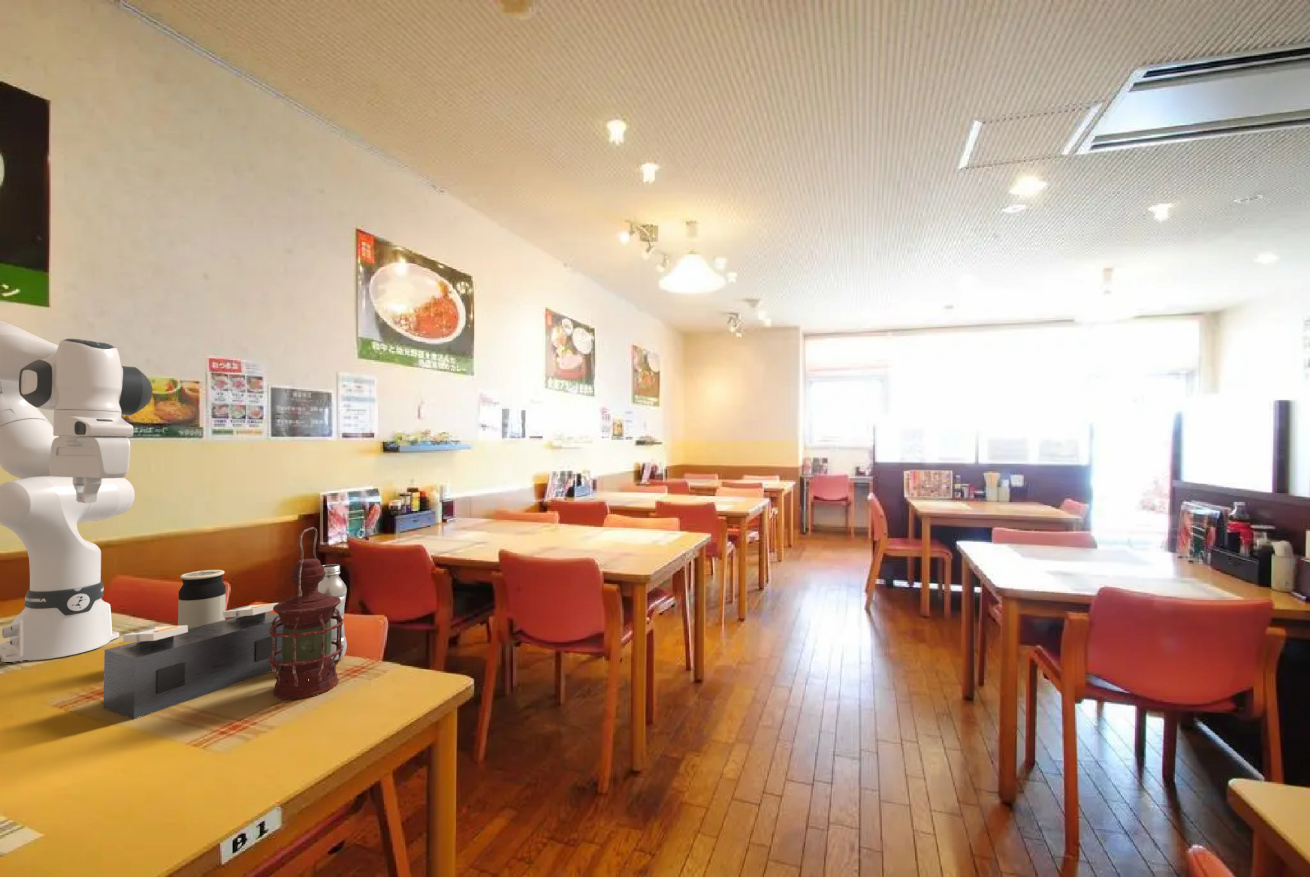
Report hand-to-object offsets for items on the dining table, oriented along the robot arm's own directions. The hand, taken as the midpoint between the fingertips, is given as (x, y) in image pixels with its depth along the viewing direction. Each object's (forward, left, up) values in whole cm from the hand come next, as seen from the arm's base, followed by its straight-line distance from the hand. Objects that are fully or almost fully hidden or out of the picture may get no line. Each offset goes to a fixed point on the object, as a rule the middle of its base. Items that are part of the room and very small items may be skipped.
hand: (86, 502), depth 104 cm
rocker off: (+15, +20, -23) cm, 34 cm away
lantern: (+34, +19, -35) cm, 53 cm away
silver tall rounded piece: (+25, +30, -35) cm, 53 cm away
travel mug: (-2, +20, -35) cm, 41 cm away
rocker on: (+15, +4, -23) cm, 28 cm away
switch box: (+15, +12, -35) cm, 40 cm away
